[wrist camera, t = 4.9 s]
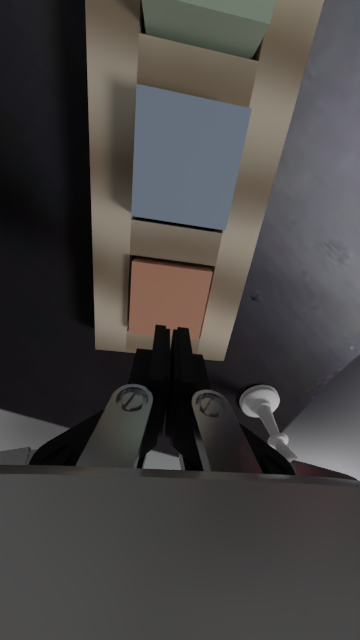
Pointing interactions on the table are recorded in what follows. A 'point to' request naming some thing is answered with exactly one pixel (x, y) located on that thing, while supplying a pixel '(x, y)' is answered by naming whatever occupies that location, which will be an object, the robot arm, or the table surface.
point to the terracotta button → (167, 295)
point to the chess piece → (266, 415)
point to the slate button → (186, 157)
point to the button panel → (118, 153)
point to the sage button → (210, 23)
